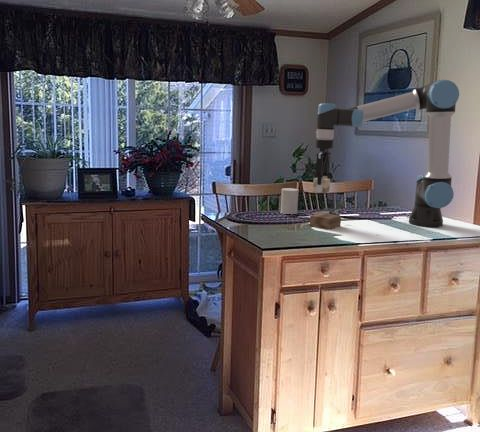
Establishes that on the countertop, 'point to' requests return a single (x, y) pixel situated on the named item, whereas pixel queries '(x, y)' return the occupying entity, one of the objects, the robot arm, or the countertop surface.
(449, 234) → the countertop surface
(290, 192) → the cup
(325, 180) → the maple cube
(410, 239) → the countertop surface
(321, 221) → the walnut block
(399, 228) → the countertop surface
